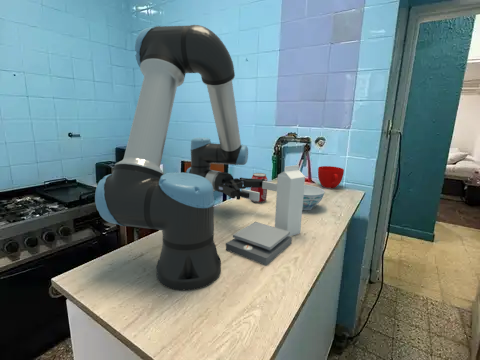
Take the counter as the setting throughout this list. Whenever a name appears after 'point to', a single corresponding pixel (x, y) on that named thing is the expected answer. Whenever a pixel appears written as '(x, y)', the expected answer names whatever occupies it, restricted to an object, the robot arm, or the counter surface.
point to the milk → (290, 200)
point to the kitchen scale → (259, 242)
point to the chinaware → (311, 196)
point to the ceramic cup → (330, 176)
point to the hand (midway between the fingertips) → (269, 192)
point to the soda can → (262, 191)
